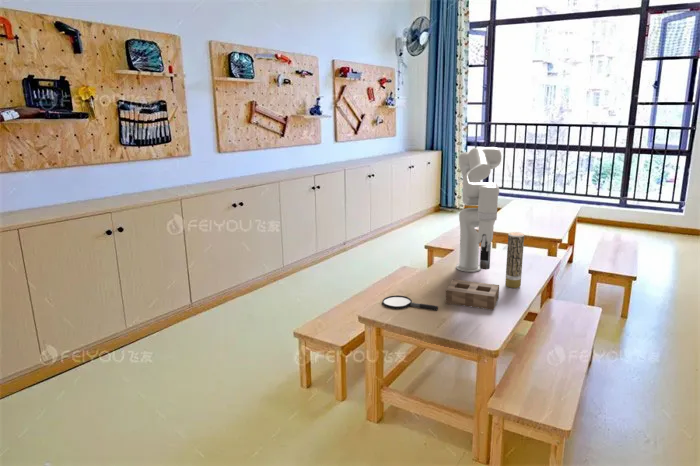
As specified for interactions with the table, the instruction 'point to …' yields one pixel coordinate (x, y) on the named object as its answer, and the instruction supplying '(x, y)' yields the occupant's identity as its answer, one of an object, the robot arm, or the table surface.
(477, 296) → the brown rectangular block
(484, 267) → the steel pin
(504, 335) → the table surface
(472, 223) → the robot arm
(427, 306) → the magnifying glass
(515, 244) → the bark pattern cylinder
